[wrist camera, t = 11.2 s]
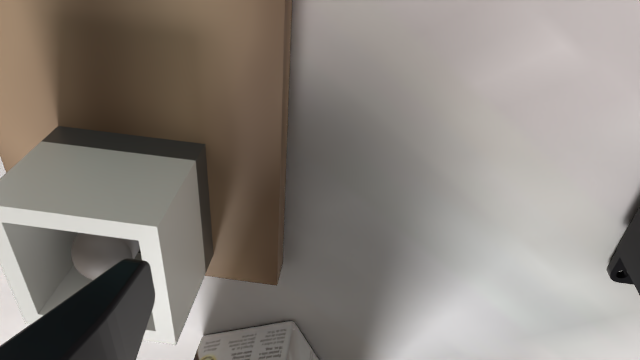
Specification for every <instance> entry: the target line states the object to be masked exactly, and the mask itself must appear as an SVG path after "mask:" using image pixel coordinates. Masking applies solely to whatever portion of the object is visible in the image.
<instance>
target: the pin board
mask: <svg viewBox="0 0 640 360" xmlns="http://www.w3.org/2000/svg"><path fill="white" fill-rule="evenodd" d="M291 17H292V0H0V156H1V159H2V162H3V165H4V167H5V170H6V173H7V172H8V171H9V170H10V169H11V168H12V167H14V166H15V165H16V164H17V163H18V162H19V161H20V160H21V159H22V158H23V157H25V156H26V155H27V154H28V153H29V152H30V151H31V150H32V149H33V148H34V147H36V146H37V145H38V144H39V143H40V142H41V141H42V140H43V139H44V138H45V137H47V136H48V135H49V134H50V133H51V132H52V131H53V130H54V129H55V128H56V127H57V126H63V127H71V128H79V129H87V130H95V131H104V132H112V133H120V134H128V135H136V136H144V137H152V138H161V139H169V140H177V141H185V142H193V143H201V144H205V147H206V160H207V173H208V186H209V200H210V213H211V226H212V240H213V253H214V255H213V257H212V260H211V262H210V264H209V267H208V269H207V272H206V274H205V276H212V277H219V278H226V279H233V280H241V281H248V282H255V283H262V284H270V285H277V284H278V280H279V276H280V272H281V268H282V264H283V239H284V211H285V183H286V155H287V128H288V100H289V72H290V44H291ZM139 250H140V246H139V241H138V240H130V239H123V238H116V237H108V236H101V235H93V234H86V233H78V235H77V236H76V238H75V239H74V242H73V244H72V249H71V257H72V261H73V264H74V266H75V268H76V269H77V270H78V271H79V272H80V273H81V274H82V275H83V276H85V277H87V278H89V279H92V280H94V279H95V278H97V277H98V276H100V275H101V274H102V273H104V272H105V271H107V270H108V269H109V268H111V267H112V266H114V265H115V264H117V263H118V262H119V261H121V260H123V259H126V258H129V259H134V258H135V257H136V255H137V253H138V252H139Z"/></svg>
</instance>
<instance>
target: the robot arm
mask: <svg viewBox="0 0 640 360" xmlns="http://www.w3.org/2000/svg"><path fill="white" fill-rule="evenodd" d="M616 250H617V251H616V253H615V254H614V256H613V258H612V260H611V261H610V263H609V265H608V267H607V272H608V274H609V276H610V278H611V279H612V280H613V281H615V282H619V283H627V284H634V285H635V287H636V289H637V291H638V293H639V295H640V207H639V209H638V211H637V213H636V214H635V216H634V218H633V220H632V221H631V223H630V225H629V227H628V228H627V230H626V232H625V234H624V236H623V237H622V239H621V241H620V243H619V244H618V246H617V248H616ZM621 270H623V271H621ZM619 271H621V272H619ZM154 302H155V289H154V284H153V278H152V273H151V267H150V264H149V263H148V262H147V261H144V260H137V259H129V258H126V259H123V260H121V261H119V262H118V263H117V264H115V265H114V266H112V267H111V268H109V269H108V270H107V271H105V272H104V273H102V274H101V275H100V276H98V277H97V278H95V279H94V280H93V281H91V282H90V283H88V284H87V285H85V286H84V287H83V288H81V289H80V290H78V291H77V292H76V293H74V294H73V295H71V296H70V297H69V298H67V299H66V300H64V301H63V302H62V303H60V304H59V305H57V306H56V307H54V308H53V309H52V310H50V311H49V312H47V313H46V314H45V315H43V316H42V317H40V318H39V319H38V320H36V321H35V322H33V323H32V324H30V325H29V326H28V327H26V328H25V329H23V330H22V331H21V332H19V333H18V334H16V335H15V336H14V337H12V338H11V339H9V340H8V341H6V342H5V343H4V344H2V345H1V346H0V360H136V357H137V354H138V351H139V348H140V345H141V342H142V339H143V336H144V333H145V330H146V327H147V324H148V321H149V318H150V315H151V312H152V309H153V306H154Z"/></svg>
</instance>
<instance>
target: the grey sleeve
mask: <svg viewBox="0 0 640 360" xmlns="http://www.w3.org/2000/svg"><path fill="white" fill-rule="evenodd" d="M78 233H86V234H93V235H101V236H108V237H116V238H123V239H130V240H138V241H139V246H140V250H139V252H138V253H137V255H136V257H135V258H134V259H137V260H144V261H147V262H148V263H149V264H150V267H151V273H152V278H153V284H154V289H155V302H154V306H153V309H152V312H151V315H150V318H149V321H148V324H147V327H146V330H145V333H144V336H143V339H142V341H149V342H156V343H162V344H169V345H176V344H177V342H178V339H179V337H180V334H181V332H182V330H183V327H184V325H185V322H186V320H187V318H188V315H189V313H190V310H191V308H192V305H193V303H194V301H195V298H196V296H197V293H198V291H199V289H200V286H201V284H202V281H203V279H204V276H205V274H206V272H207V269H208V267H209V264H210V262H211V260H212V257H213V255H214V253H213V240H212V226H211V213H210V200H209V186H208V173H207V160H206V147H205V144H201V143H193V142H185V141H177V140H169V139H161V138H152V137H144V136H136V135H128V134H120V133H112V132H104V131H95V130H87V129H79V128H71V127H63V126H57V127H56V128H55V129H54V130H53V131H52V132H51V133H50V134H49V135H48V136H47V137H45V138H44V139H43V140H42V141H41V142H40V143H39V144H38V145H37V146H36V147H34V148H33V149H32V150H31V151H30V152H29V153H28V154H27V155H26V156H25V157H23V158H22V159H21V160H20V161H19V162H18V163H17V164H16V165H15V166H14V167H12V168H11V169H10V170H9V171H8V172H7V173H6V174H5V175H4V176H3V177H1V178H0V265H1V268H2V270H3V272H4V275H5V277H6V279H7V282H8V284H9V286H10V289H11V291H12V294H13V296H14V298H15V301H16V303H17V305H18V308H19V310H20V312H21V315H22V317H23V319H24V322H25V324H32V323H33V322H35V321H36V320H38V319H39V318H40V317H42V316H43V315H45V314H46V313H47V312H49V311H50V310H52V309H53V308H54V307H56V306H57V305H59V304H60V303H62V302H63V301H64V300H66V299H67V298H69V297H70V296H71V295H73V294H74V293H76V292H77V291H78V290H80V289H81V288H83V287H84V286H85V285H87V284H88V283H90V282H91V281H93V280H92V279H89V278H87V277H85V276H83V275H82V274H81V273H80V272H79V271H78V270H77V269H76V268H75V266H74V264H73V261H72V257H71V249H72V244H73V242H74V239H75V238H76V236H77V235H78Z"/></svg>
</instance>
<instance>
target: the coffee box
mask: <svg viewBox="0 0 640 360" xmlns="http://www.w3.org/2000/svg"><path fill="white" fill-rule="evenodd" d="M194 360H319V359H318V358H317V356H316V355H315V353H314V352H313V350H312V349H311V347H310V346H309V344H308V342H307V341H306V339H305V338H304V336H303V335H302V333H301V332H300V330H299V329H298V327H297V325H296V324H295V323H294V322H293V321H288V322H282V323H276V324H270V325H265V326H258V327H252V328H247V329H240V330H234V331H229V332H223V333H217V334H211V335H205V336H203V337H202V339H201V341H200V344H199V346H198V349H197V352H196V355H195V358H194Z"/></svg>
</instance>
